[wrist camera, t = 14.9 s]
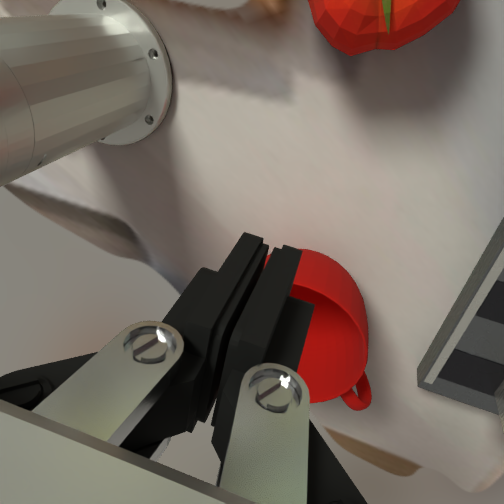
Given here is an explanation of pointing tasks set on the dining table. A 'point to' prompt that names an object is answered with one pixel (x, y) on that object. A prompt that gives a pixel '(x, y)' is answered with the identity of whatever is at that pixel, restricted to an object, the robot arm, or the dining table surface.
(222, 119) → the dining table surface
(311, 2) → the tomato
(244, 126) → the dining table surface
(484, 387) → the breaker panel
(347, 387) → the ceramic cup
